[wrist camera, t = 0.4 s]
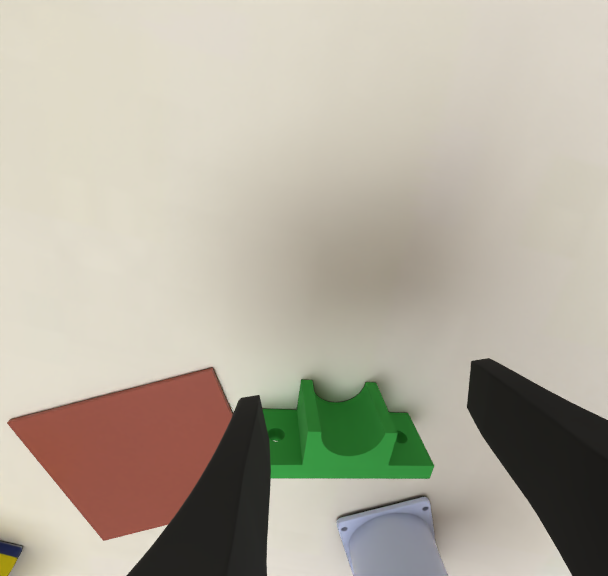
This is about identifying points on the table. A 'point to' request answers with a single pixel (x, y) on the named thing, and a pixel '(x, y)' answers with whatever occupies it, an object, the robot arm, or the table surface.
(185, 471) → the napkin
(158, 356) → the table surface
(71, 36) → the table surface
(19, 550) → the supplement box
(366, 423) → the pipe clamp
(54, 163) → the table surface
